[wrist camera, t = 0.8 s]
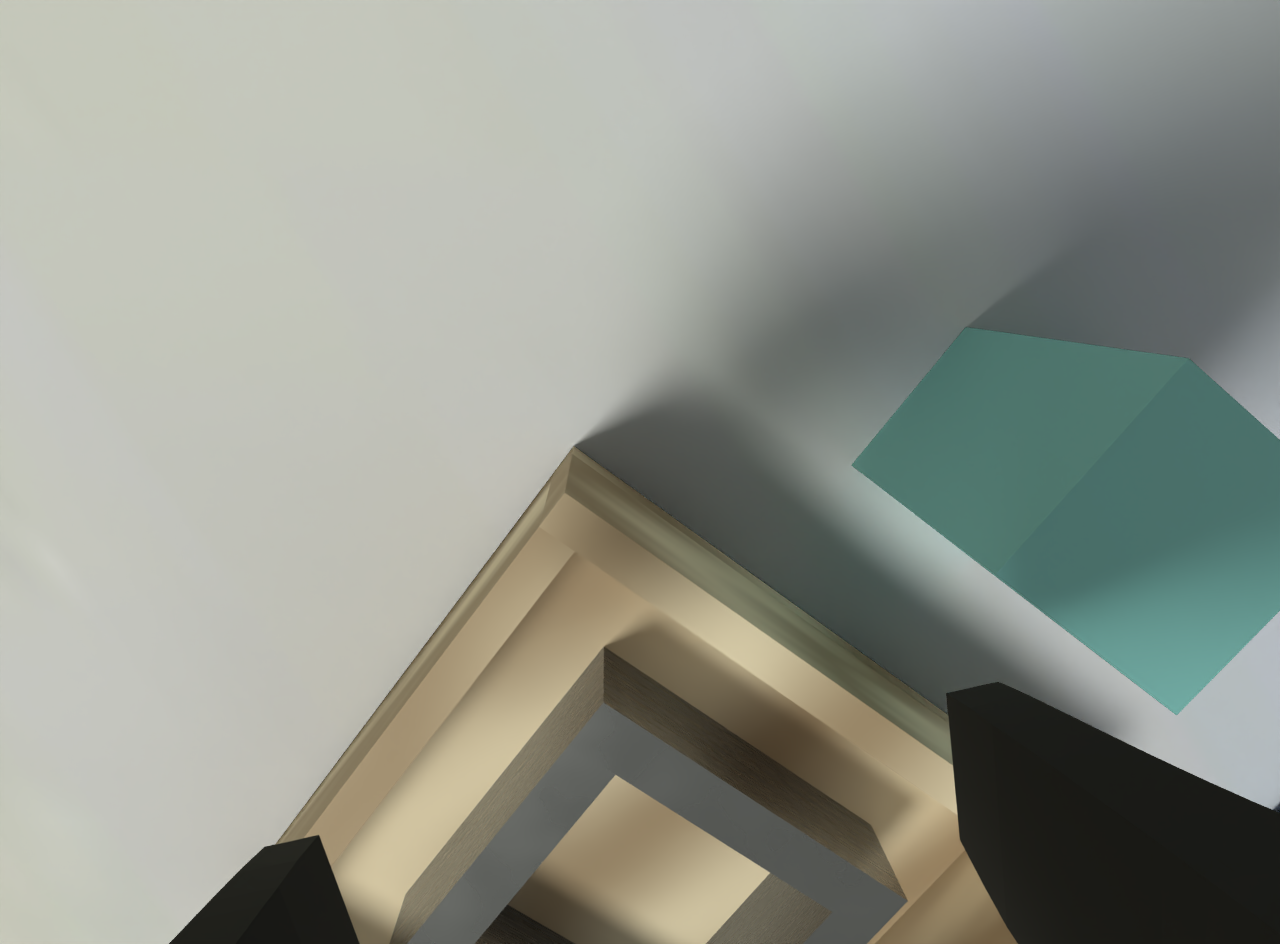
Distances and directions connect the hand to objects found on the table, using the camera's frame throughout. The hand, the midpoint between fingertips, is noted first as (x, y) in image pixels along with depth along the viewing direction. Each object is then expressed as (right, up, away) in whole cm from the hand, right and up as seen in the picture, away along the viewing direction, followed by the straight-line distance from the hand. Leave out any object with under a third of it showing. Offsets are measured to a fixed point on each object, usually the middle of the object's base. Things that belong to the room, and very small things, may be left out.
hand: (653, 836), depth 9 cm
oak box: (0, -6, +12) cm, 13 cm away
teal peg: (+8, +5, +10) cm, 13 cm away
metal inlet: (0, -6, +11) cm, 12 cm away
